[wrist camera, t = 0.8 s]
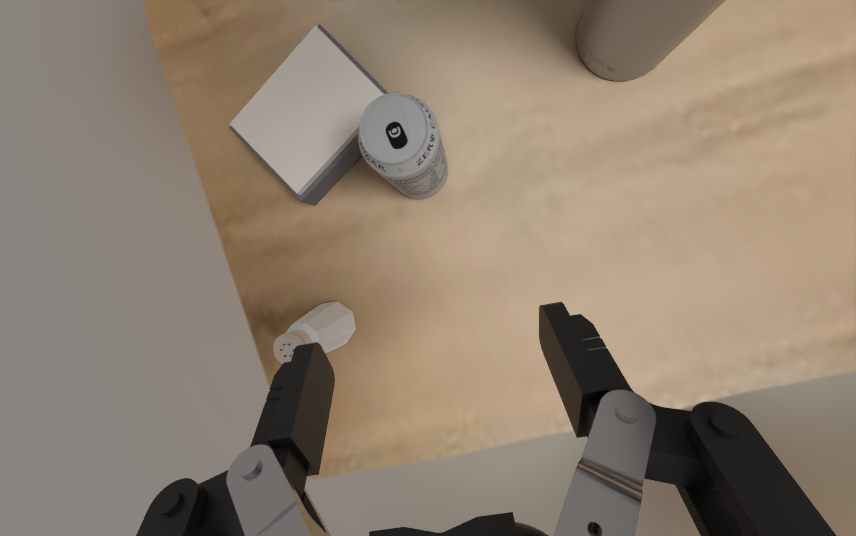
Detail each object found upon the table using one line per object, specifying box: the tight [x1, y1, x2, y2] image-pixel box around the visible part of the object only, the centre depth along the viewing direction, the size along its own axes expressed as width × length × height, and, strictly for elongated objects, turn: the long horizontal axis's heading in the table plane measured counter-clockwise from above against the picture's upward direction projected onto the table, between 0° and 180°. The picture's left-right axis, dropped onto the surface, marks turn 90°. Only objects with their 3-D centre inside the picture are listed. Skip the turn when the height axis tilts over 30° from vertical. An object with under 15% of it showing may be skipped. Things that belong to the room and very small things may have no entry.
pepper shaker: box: [273, 301, 356, 364], centre depth 37 cm, size 5×5×11 cm
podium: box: [230, 24, 388, 205], centre depth 39 cm, size 14×11×4 cm
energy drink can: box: [358, 93, 448, 199], centre depth 33 cm, size 6×6×15 cm
